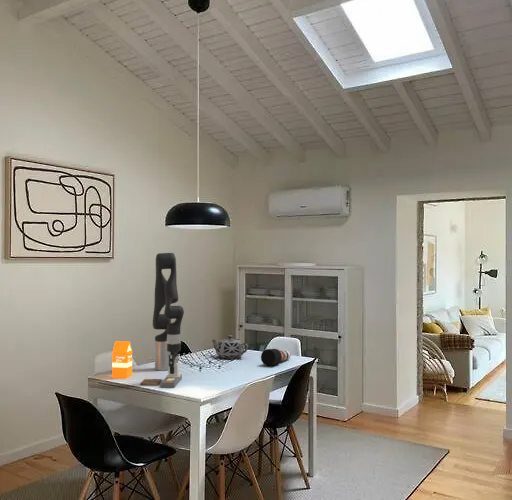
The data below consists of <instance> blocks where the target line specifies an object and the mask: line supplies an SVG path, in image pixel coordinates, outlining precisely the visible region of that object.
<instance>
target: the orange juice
mask: <svg viewBox="0 0 512 500" xmlns="http://www.w3.org/2000/svg"><path fill="white" fill-rule="evenodd" d="M131 345H132V344H131V341H124V340H123V341H121V340H116V341H114V345H113V349H112V355H111V357H112V358H111V359H112V362H111V364H112V365H111V371H112V373H111V378H112V379H126V378H127V379H129V378H130V377H132V376H133V348H132V346H131Z"/></svg>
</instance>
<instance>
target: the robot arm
mask: <svg viewBox="0 0 512 500" xmlns="http://www.w3.org/2000/svg"><path fill="white" fill-rule="evenodd" d="M163 270H170V274H169V276H168V280H167V279H166V277H165V276H164V274H163ZM154 284H155V285H154V308H153V316H152V327H153V329H154V330H164V331H163V332H161V333H160V334H157V335H155V336H154V370H155V371H168V364H169V366H170V374H174V365H175V363H179V352H181V350H182V349H181V348H182V346H181V345H182V344H181V343H182V341H181V340H182V339H181V338H182V337H181V325H182V321H183V318H184V313H185V310H184V308H183V306H181V305H172V304H176V303H178V302H179V294H178V293H179V292H178V285H177V284H178V283H177V260H176V255H175V253H174V252H160V253H157V254H156V256H155V283H154ZM163 308H164V311H163V313H161V311H162V310H163ZM173 319H175V320H174V321H173V322H172V320H173ZM171 363H172V364H171Z"/></svg>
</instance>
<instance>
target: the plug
mask: <svg viewBox="0 0 512 500" xmlns="http://www.w3.org/2000/svg"><path fill="white" fill-rule="evenodd" d="M171 364H172V363H171ZM167 372H168V374H167V375H168V376H179V374H180V363H179V362H178V363H175V365H174V374H170V366H169V364H168V370H167Z"/></svg>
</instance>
